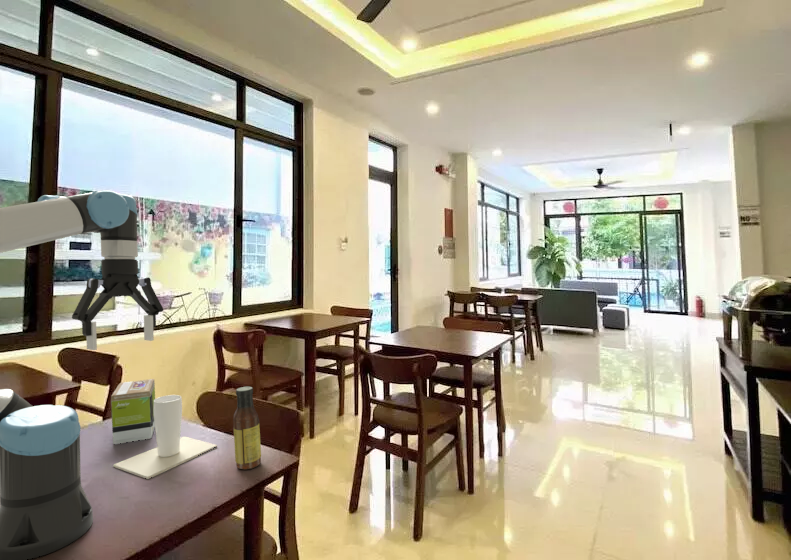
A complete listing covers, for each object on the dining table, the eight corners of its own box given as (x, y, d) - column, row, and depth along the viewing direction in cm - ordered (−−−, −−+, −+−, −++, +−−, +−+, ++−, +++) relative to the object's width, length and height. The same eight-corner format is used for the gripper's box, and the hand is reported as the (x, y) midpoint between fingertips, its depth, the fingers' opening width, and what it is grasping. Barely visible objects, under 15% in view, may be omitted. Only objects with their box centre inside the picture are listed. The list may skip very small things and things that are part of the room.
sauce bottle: (264, 459, 110) (263, 384, 110) (256, 471, 104) (254, 391, 104) (239, 459, 111) (238, 384, 110) (230, 471, 104) (228, 391, 104)
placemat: (147, 479, 100) (147, 476, 100) (113, 466, 107) (113, 464, 107) (217, 447, 118) (217, 445, 118) (184, 438, 125) (184, 436, 125)
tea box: (120, 427, 134) (119, 381, 133) (157, 422, 138) (156, 377, 137) (111, 445, 120) (110, 394, 119) (152, 439, 124) (151, 389, 124)
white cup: (170, 460, 109) (169, 403, 108) (148, 458, 110) (146, 401, 110) (188, 449, 116) (187, 395, 115) (166, 447, 117) (165, 394, 116)
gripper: (158, 259, 116) (160, 335, 116) (51, 257, 94) (54, 352, 94) (176, 259, 112) (178, 337, 113) (69, 257, 90) (72, 355, 91)
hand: (122, 344), depth 104 cm, fingers open, 13 cm apart
